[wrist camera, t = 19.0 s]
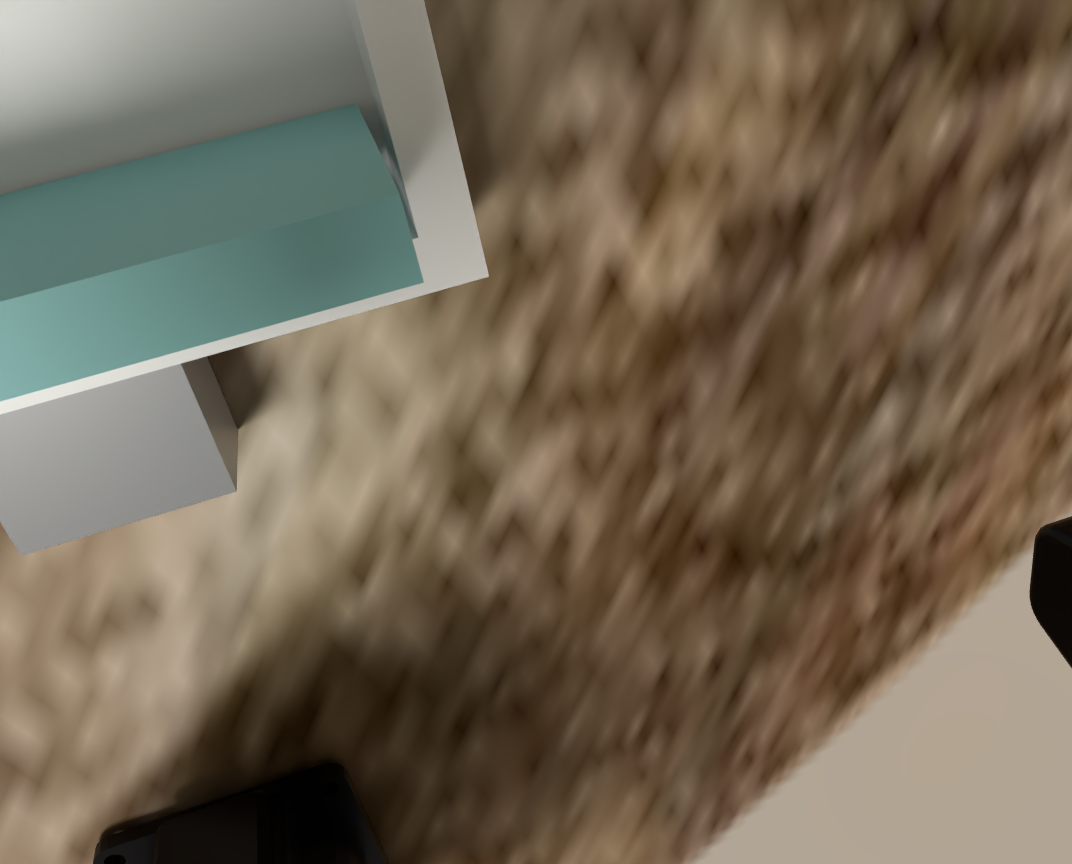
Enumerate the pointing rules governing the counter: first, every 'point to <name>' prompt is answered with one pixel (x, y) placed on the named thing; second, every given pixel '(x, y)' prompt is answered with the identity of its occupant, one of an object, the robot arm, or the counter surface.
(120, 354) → the pusher
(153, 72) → the lane
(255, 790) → the robot arm
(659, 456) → the counter surface
